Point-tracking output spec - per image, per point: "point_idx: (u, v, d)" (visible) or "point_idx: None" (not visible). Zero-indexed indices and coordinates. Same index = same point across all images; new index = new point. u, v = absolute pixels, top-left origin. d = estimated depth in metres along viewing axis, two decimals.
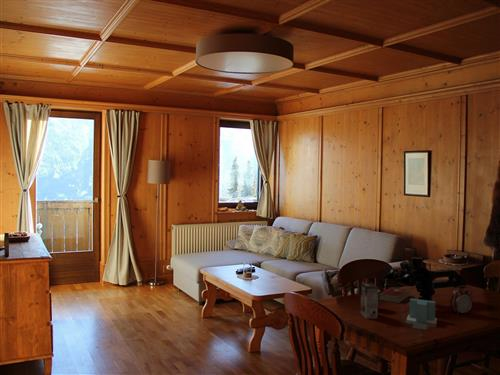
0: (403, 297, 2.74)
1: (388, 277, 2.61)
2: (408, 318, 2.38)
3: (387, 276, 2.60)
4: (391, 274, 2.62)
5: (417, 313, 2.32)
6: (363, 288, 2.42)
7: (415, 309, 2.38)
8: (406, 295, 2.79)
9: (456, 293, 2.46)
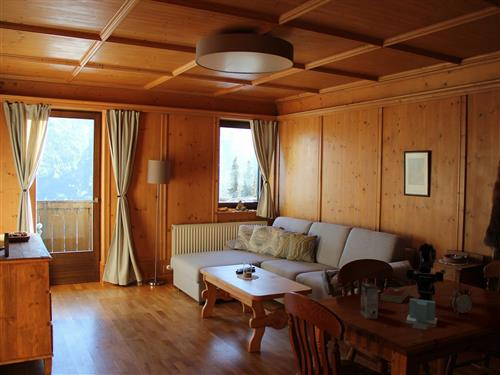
0: (404, 297, 2.74)
1: (418, 284, 2.49)
2: (408, 318, 2.38)
3: (418, 284, 2.48)
4: None
5: (417, 313, 2.32)
6: (363, 288, 2.42)
7: (415, 309, 2.38)
8: (406, 295, 2.80)
9: (456, 293, 2.46)
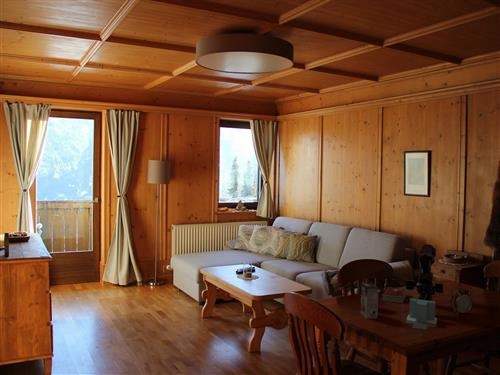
0: (404, 297, 2.75)
1: (423, 296, 2.46)
2: (408, 318, 2.38)
3: None
4: (422, 291, 2.46)
5: (417, 313, 2.32)
6: (363, 288, 2.42)
7: (415, 309, 2.38)
8: (405, 295, 2.80)
9: (456, 293, 2.46)
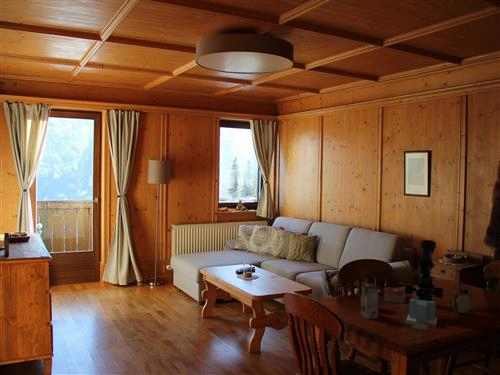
0: None
1: None
2: (408, 318, 2.38)
3: None
4: (422, 295, 2.42)
5: (417, 313, 2.31)
6: (363, 288, 2.42)
7: (415, 309, 2.37)
8: None
9: (456, 293, 2.46)
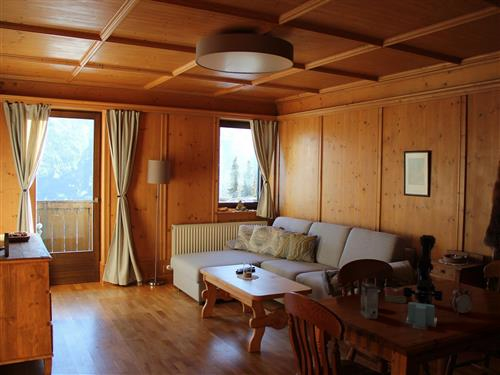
0: None
1: None
2: None
3: None
4: (421, 298, 2.36)
5: (416, 317, 2.25)
6: (363, 288, 2.42)
7: (414, 313, 2.31)
8: None
9: (456, 293, 2.46)
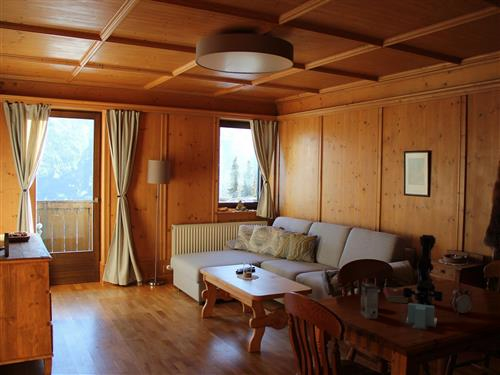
0: None
1: (421, 304, 2.35)
2: None
3: None
4: (421, 299, 2.36)
5: (416, 318, 2.24)
6: (363, 288, 2.42)
7: (413, 314, 2.30)
8: None
9: (456, 293, 2.46)
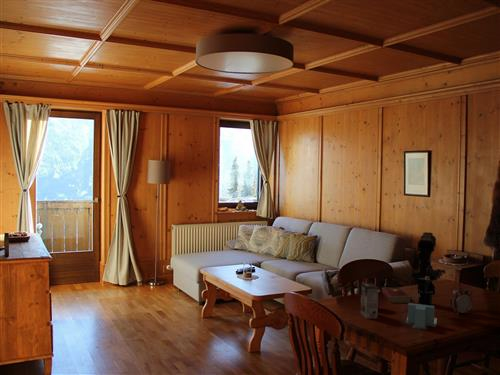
0: None
1: None
2: None
3: None
4: None
5: (416, 318, 2.24)
6: (363, 288, 2.42)
7: (413, 314, 2.30)
8: None
9: (456, 293, 2.46)
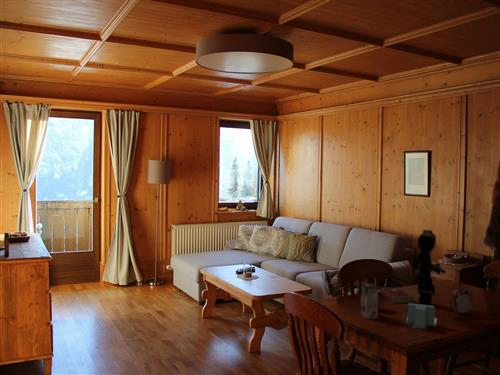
0: None
1: None
2: None
3: None
4: None
5: (416, 318, 2.24)
6: (363, 288, 2.42)
7: (413, 314, 2.30)
8: None
9: (456, 293, 2.46)
